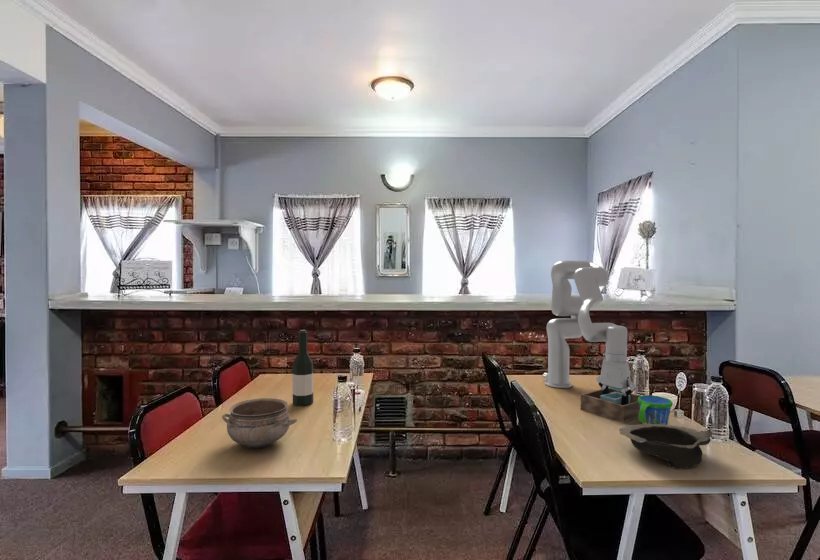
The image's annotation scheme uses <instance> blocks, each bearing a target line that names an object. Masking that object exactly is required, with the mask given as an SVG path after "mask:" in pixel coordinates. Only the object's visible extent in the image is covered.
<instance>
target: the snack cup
mask: <svg viewBox="0 0 820 560" xmlns="http://www.w3.org/2000/svg"><path fill="white" fill-rule="evenodd" d="M638 402H639V405H640V412H639V416H638V418H637V419H638V421H639V422H640V423H641V424H662V425H669V424H668V423H669V419H670V414H671V408H672V406H673V405H674V403H673V401H672V399H669V398H667V397H662V396H659V395H639V397H638Z"/></svg>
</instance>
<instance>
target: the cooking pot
mask: <svg viewBox="0 0 820 560" xmlns="http://www.w3.org/2000/svg"><path fill="white" fill-rule="evenodd" d="M288 405H289V404H288V402H287V401H285V400H283V399H279V398H271V397H269V398H268V397H267V398H254V399H247V400H243V401H239V402H236V403H234V404H233V405H231V406H229V409H228V410H229V413H230V414H229V413H224V414H222V416H221V418H222V420H223V422H225V423H226V431H227V434H228V436H229V437H230V439H231V440H232V441H233V442H235V443H236V444H238V445H241V446H242V447H243V446H244V447H246V448H249V449H252V450H258V449H259V450H260V449H264V448H268V447H269V446H271V445H272V444H274V443H276V442H278V440H280V439H283V437H284V436H285V435H286V434H287V432H288V430H289V429H290V426H292V425H293V424H295V423H297V422H298V420H297V419H296V418H294V419H291V416H290V414H289V411H288V409H287V407H288Z"/></svg>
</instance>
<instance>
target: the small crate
mask: <svg viewBox="0 0 820 560" xmlns="http://www.w3.org/2000/svg"><path fill="white" fill-rule="evenodd" d="M622 396H623V394H622V393H618V392H612V393H608V394H604V395H600V399H602V400H605V401H609V402H613V403H616V404H620V405H622ZM629 403H630V395H629V402H628V404H629Z"/></svg>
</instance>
